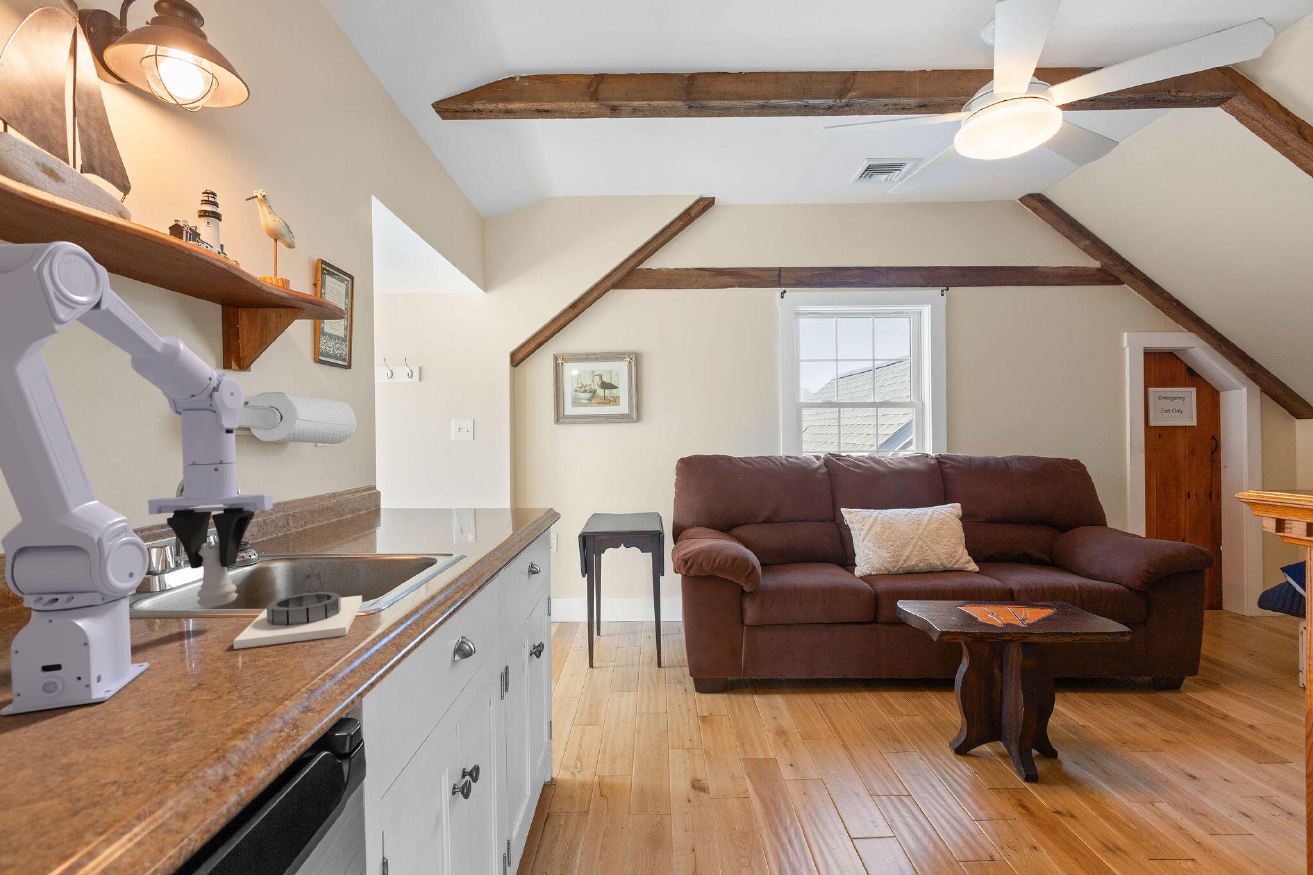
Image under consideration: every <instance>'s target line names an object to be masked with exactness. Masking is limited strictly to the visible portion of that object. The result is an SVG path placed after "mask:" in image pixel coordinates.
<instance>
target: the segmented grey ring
mask: <svg viewBox="0 0 1313 875" xmlns="http://www.w3.org/2000/svg"><path fill="white" fill-rule="evenodd" d="M341 598H342V596H341V594H339V593H336V592H333V591H331V592H329V591H327V592H326V591H321V592H320V591H318V592H316V591H315V592H308V593H306V592H305V593H299V594H294V595H290V596H285V597H282V598H279V599H276V600H274V601H271V602H269V603H268V604H267V605H266V606H265V607H266V608H267V622H268V623H270V624H271V625H280V626H288V625H289V626H291V625H299V624H307V623H312V622H316V621H320V620H325V619H328V618H330V617H332V616H335V615H337V614H339V612H340V611H341ZM266 608H265V609H266Z"/></svg>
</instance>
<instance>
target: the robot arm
mask: <svg viewBox="0 0 1313 875" xmlns="http://www.w3.org/2000/svg"><path fill="white" fill-rule="evenodd" d="M74 321H77V322H79V323H80V324H82V325H84V326H85V327H87V328H88V329H90V330H91V331H93V332H94V333H96V334H98V335H99V336H101V337H102V338H103V339H106V340H107V341H108V342H110V343H112V344H113V345H115V346H116V347H117V348H119V349H121V350H122V351H124V352H125V353H127V354H128V355H130V356H131V357H130V365H131V368H132V370H134V372H135V373H137V374H138V375H140V376H141V377H142V378H144V379H146V380H147V381H148V382H150V384H151V385H153V386H155V387H156V388H157V389H159V390H160V391H161V392H162V393H163V394H162V395H163V396H164V397H165V398H166V399H167V402H168V405H169V408H170V409H171V411H172V412H173V413H174V414H176V415H178V416H180V419H181V422H180V423H181V448H182V475H183V477H182V478H183V481H182V482H183V496H177V497H158V498H153V499H152V498H151V499H148V501H147V502H148V515H160V514H173V515H172V517H168V518H167V517H166V524H167V525H168V526H169V527H170V529H171V530H172V531H173V533H175V535H176V536H177V538H178V540H179V541H180V544H181V545H182V547H183V549H184V552H185V555H186V558H187V559H188V562H189V565H190V566H189V567H190V568H191V569H200V568H201V567H203V565H202V564H201V563H202V562H203V557H202V556H201V555H200V554H199V553H198V552H199V551H200V549H201V545H202V544H204V543H206V545H208V532H209V526H210V521H211V519H212V520H213V524H214V526H215V530H216V533H217V538H218V541H219V551H220V563H221V567H226V568H229V567H231V566H234V565H236V564H237V559H238V555H239V551H240V548H241V544H242V542H243V537H244V536H245V533H246V531H247V529H248V527H249V525H250V524H251V522H252V520H253V518H254V517H255V511H267V510H271V509H273V494H271V493H270V494H238V480H237V478H238V477H237V476H238V475H237V452H236V449H237V447H236V429H238V428H239V425H240V422H241V420H240V417H241V416H240V415H241V412H242V410H243V408H244V405H245V399H246V396H245V395H246V394H244V393H243V389H242V386H241V384H240V383H239V381H238V380H237V379H236V378H234V377H232V376H231V375H230V374H228V373H223V372H219V373H218V372H217V371H216V370H214V369H213V368H212V367H211V366H210V365H209V364H208V363H206V362H205V361H204V360H202V359H201V358H200V357H199V356H198V354H196V353H194V352H193V351H192V350H191V349H190V348H188V347H187V346H186V345H185V344H186V343H185V341H183V340H182V339H181V338H180V337H178V336H171V335H168V334H167V335H164V334H163V335H158V334H157V333H156V332H155V331H154V330H153V329H152V328H151V327H150V326H149V325H148V324H147V323H146V322H145V321H144V320H143V319H142V318H141V317H139V315H138V314H137V313H135V311H134V310H133V309H131V307H129V305H128V304H127V303H126V302H125V301H124V300H122V299H121V298H120V297H119V295H117V294H116V292H114V290H112V288H111V284H110V278H109V274H108V271H107V268H105V267H104V266H102V265H101V264H99V263H98V262H96V261H95V259H94V258H93V256H91V254H90V253H89V252H88V251H86V250H85V249H84V248H83V247H81V246H80V245H77V244H75V243H74V242H71V241H65V240H63V241H62V240H61V241H60V240H59V241H58V240H57V241H55V240H54V241H52V242H48V243H47V242H46V243H44V242H43V243H41V242H40V243H10V244H9V243H7V244H5V243H4V244H3V243H2V244H0V471H1V472H2V476H3V478H4V479H5V482H6V485H7V488H8V489H9V492H10V494H11V496H12V499H13V501H14V504H15V506H16V509H17V511H18V513H19V516H20V518H21V520H20V521H19V522H18V523H17V524H16V525H14V527H13V528H11V530H9V531H8V532H7V533H6V534H5V535H4V536H3V538H1V541H0V543H1V546H2V548H3V551H4V554H5V566H4V567H5V568H4V576H5V578H4V579H5V582H6V583H7V586H8V587H9V590H10V591H11V592H12V593H13V594H15V595H16V596H18V597H20V598H23V607H24V608H31V614H30V615H31V617H30V620H29V621H28V623H27V624H26V625H25V626H24V627H23V628H21V629H20V631H18V633H17V634H16V635H15V637H14V639H13V640H12V643H11V645H10V646H11V647H10V671H11V693H12V702H11V703H10V704H8V705H6V706H5V707H3V708H2V709H0V715H1V716H5V715H6V716H7V715H13V714H20V713H29V712H35V711H41V710H47V709H48V710H49V709H56V708H63V707H69V706H77V705H78V706H79V705H83V704H84V705H85V704H92V703H98V702H104V701H107V700H108V699H110V698H111V697H112V696H113V695H115V694H116V693H117V692H119V691H120V690H121V689H123V688H124V687H125V686H126V685H127V684H129V683H130V682H131V681H133V680H134V679H135V678H137V677H138V676H140V674H141V673H143V672H144V671H145V670H146V669H148V668H149V667H150V663H149V662H139V663H132V651H131V650H132V649H131V648H132V647H131V622H130V619H131V618H130V598H129V596H131V595H133V594H135V593H136V590H137V588H138V586H139V585H140V584H141V583H142V582H143V580H144V578H145V576H146V574H147V572H148V569H149V566H150V565H149V564H150V563H149V562H150V556H149V549H148V547H147V545H146V544H145V542H144V541H143V539H142V538H141V537H139V536H138V535H137V534H136V533H135V532H134V531H133V529H132V527H131V524H130V521H129V519H128V517H126V515H123V514H121V513H120V512H117V511H116V510H115V509H113V508H110V507H108V506H106V505H105V504H103V503H101V502H99V501H98V498H97V497H96V494H95V491H94V488H93V485H92V483H91V480H90V477H89V475H88V472H87V470H86V467H85V464H84V462H83V459H82V455H81V453H80V451H79V449H78V446H77V445H78V444H77V443H76V439H75V438H74V434H73V432H72V429H71V427H70V423H69V421H68V419H67V416H66V413H65V411H64V407H63V405H62V402H61V399H60V398H59V394H58V392H57V389H56V385H55V384H54V381H53V377H52V376H51V372H50V370H49V367H48V365H47V363H46V362H47V361H46V360H45V356H44V354H43V349H44V346H45V345H46V344H47V343H48V341H49V340H50V338H52V336H53V335H55V334H58V333H59V332H61V331H62V330H63V329H64V328H66V327H68V326H69V325H70V324H71V323H73V322H74ZM214 505H215V506H214ZM217 505H223V506H218V507H217ZM200 506H201V507H200ZM202 506H211V507H202ZM212 506H213V507H212ZM213 512H221V513H217V514H213Z"/></svg>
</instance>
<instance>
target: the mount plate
mask: <svg viewBox="0 0 1313 875" xmlns="http://www.w3.org/2000/svg"><path fill="white" fill-rule="evenodd" d="M362 604H363V595H351V596H346V597H344V596H343V597H342V596H341V611H340V612H339V614H337V615H335V616H332V617H330V618H328V619H325V620H320V621H316V622H312V623H307V624H299V625H291V626H289V625H288V626H280V625H271V624H270V623H268V622H267V608H265V609H264V610H263V611H262V612H261V613H260V614H259V615H258V616H257V617H256V618H255V619H254V620H253V621H252V622H251V623H250V624H249V625H248V626H246V628H245V629H244V630H243V631H241V633H240V634H238V636H237V637H235V639H234V640H233V650H236V649H238V650H239V649H245V648H254V647H261V646H262V647H263V646H269V645H276V644H277V645H278V644H279V645H280V644H286V643H294V642H301V641H309V640H310V641H311V640H317V639H327V638H335V637H341V636H347V634H348V632H349V630H350V628H351V626H352V623H353V621H354V620H355V618H356V616H357V614H356V613H358V612H359V609H360V607H361V605H362ZM357 611H358V612H357Z"/></svg>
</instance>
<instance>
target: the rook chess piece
mask: <svg viewBox="0 0 1313 875" xmlns="http://www.w3.org/2000/svg"><path fill="white" fill-rule="evenodd" d="M198 553H199V554H200V555H201V556H202V557H203V562H202V563H201V564H202V565H203V566H202V567H203V568H202V569H203V575H202V576H203V577H202V578H203V579H202V584H201V585H200V590H198V592H197V595H196V596H197V597H198V598H199V599H198V600H197V602H196V603H197V604H198V605H199V606H200V607H201V608H214V607H220V606H224V605H228V604H231V603H232V602H234V601H235V600H236V598H237V597H238V596H239V594H238V593H236V591H237V586H236V585H235V584H234V583H232V582H233V580H232V579H231V578H230V576H229V572H228V569H227V567H221V563H220V551H219V540H217V541H215V543H214V544H213V541H209V542H208V541H207V545H206V543H204V544H202V545H201V549H200V551H199V552H198Z"/></svg>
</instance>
